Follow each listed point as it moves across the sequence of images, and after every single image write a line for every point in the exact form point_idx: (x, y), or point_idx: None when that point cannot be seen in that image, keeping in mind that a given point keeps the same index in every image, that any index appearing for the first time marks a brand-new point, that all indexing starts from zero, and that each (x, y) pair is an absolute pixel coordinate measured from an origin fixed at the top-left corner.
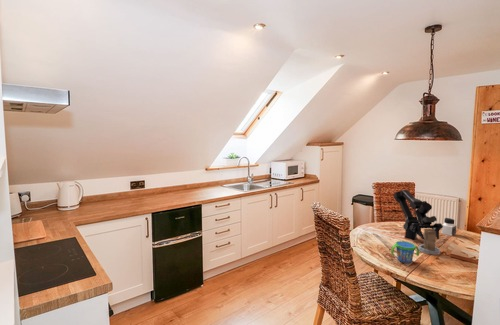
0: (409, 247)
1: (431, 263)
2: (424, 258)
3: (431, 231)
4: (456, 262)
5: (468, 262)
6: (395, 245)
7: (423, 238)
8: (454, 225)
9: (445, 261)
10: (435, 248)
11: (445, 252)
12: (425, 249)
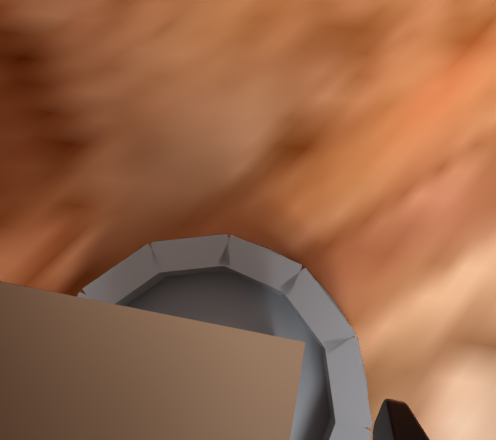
0: None
1: (473, 35)
2: (470, 163)
3: (126, 311)
4: (154, 21)
5: (22, 5)
6: None
7: (405, 407)
8: None
9: (260, 57)
10: None
11: None
12: (323, 340)
